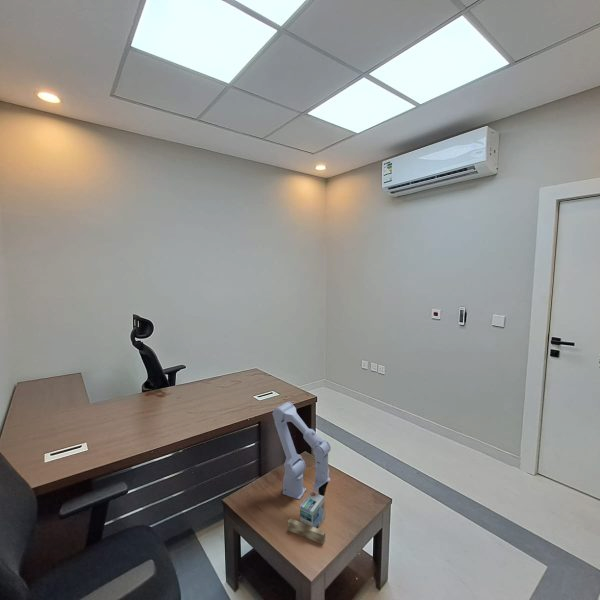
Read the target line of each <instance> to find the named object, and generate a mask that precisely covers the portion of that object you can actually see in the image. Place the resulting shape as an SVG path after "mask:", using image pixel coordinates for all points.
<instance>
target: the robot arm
mask: <svg viewBox="0 0 600 600" xmlns="http://www.w3.org/2000/svg"><path fill="white" fill-rule="evenodd" d="M271 414H272V417H273V421H274V426H275V428H276V432H277V433H278V437H279V440H280V443H281V445H282V449H283V452H284V454H285V462H284V464H283V466H284V475H283V480H282V494H283V495H285V496H287V497H291V498H293V499H296V500H301V499H302V497H303V495H304V493H305V492H306V490H307V488H306V487H304V471H305V470H306V467H307V466H306V462H305V460H304V459H303V457H302V455H301V454H298V453H297V450H296V447H295V445H294V441H293V438H292V436H291V432H290V430H289V427H288V426H289V425H288V423H289V422H290V423H292V424H293V425H294V426H295V427H296V428H297V429H298V430H299V431H300V432H301V433H302V435H303V439H304V441H305V442H306V443H307V444H308V445H309V446H310V448H311V449H312V453H313V456H314V460H315V476H314V484H313V485H314V486H313V492H316V493H317V492H318V493H317V494H320V495H322V496H324V497H325V495H326V491H327V487H328V484H329V483H330V482H331V477H329V474H330V468H329V454H330V451H331V445H330V444H329V442H328V441H327V440H325V439H323V438H321V437H320V436H319V435H318V433H316V431H315V430H314V429H313V428H309V427H308V426H307V424H306V423H305V421H304V420H303V419H302V418H301V417H300V415H299V414H298V412H297V408H296V407H295V405H294V404H293V403H292V402H291V401H286V402H284V403H283V404H281V405H279V406H278V407H276V408H274V409H273V411H272V413H271Z"/></svg>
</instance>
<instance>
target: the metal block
mask: <svg viewBox="0 0 600 600" xmlns="http://www.w3.org/2000/svg"><path fill="white" fill-rule="evenodd" d="M287 530H288V531H289V532H292V533H294V534H295V535H298V536H302V537H304V538H306V539H308V540H311V541H314V542H316V543H319V544H321V545H324V544H325V542H326V531H325V530H322V529H320V528H318V529H317V528H315V527H312V526H309V525H307V524H304V523H301V522H300V520H299V521H298V520H296V519H293V518H292V517H290V518H289V519H288V521H287Z"/></svg>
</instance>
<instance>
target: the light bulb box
mask: <svg viewBox="0 0 600 600" xmlns="http://www.w3.org/2000/svg"><path fill="white" fill-rule="evenodd" d="M324 521H325V495H324V496H322V495H320V494H319V493H317V492H316V491H314V490H312V491H310V493H309V494H308V495H307V496H306V498H305V499H304V500H303V501H302V503H301V504H300V505H299V522H301V523H304V524H307V525H309V526H312V527H315V528H317V529H320V526H321V525H322V523H323V522H324Z"/></svg>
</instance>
